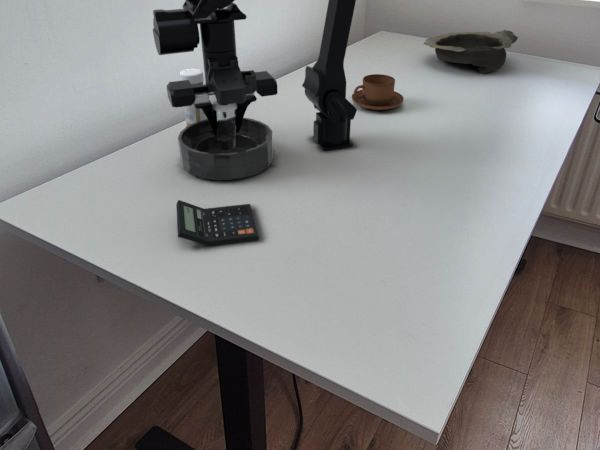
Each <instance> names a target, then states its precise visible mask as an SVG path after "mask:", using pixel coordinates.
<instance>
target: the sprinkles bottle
mask: <svg viewBox="0 0 600 450" xmlns="http://www.w3.org/2000/svg"><path fill="white" fill-rule="evenodd" d="M203 71H204V70H202V69H200V68H186V69H182V70H181V71H180V72H179V81H183V80H189V82H190V83H191V85H192V86H196V85H204V81H205V76H204V72H203ZM183 109H184V119H185V122H186V127H187V126H189V125H191V124H193V123H195V122H198V121H202V120H206V119H207V118H206V116H205V113H204V112H203V110H202V109H197V108H195V107H194V105H193V104H192V105H191V106H184V107H183Z"/></svg>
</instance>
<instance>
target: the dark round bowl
mask: <svg viewBox="0 0 600 450" xmlns="http://www.w3.org/2000/svg"><path fill="white" fill-rule="evenodd" d="M273 138H274V137H273V130H272V129H271V127H270V126H269V125H268V124H266V123H264V122H262V121H261V120H258V119H254V118H249V117H243V121H242V124H241V127H240V131H239V133H237V132H236V144H235V148H234V149H233V150H230V151H222V150H220V149H218V144H217V137H216V136H215V135H214V133H213V131H212V129H211V127H210V124H209V122H208V120H207V119H206V120H202V121H198V122H195V123H193V124H191V125H189V126H187V125H186V126H185V127H184V128H183V129H182V130H180V132H179V134H178V137H177V142H178V150H179V158H180V163H181V165H182V168H183V169H184V170H185V171H186V172H187V173H188V174H190V175H192V176H195V177H197V178H201V179H207V180H213V181H215V180H216V181H230V180H238V179H242V178H243V179H244V178H248V177H251V176H254V175H257V174H259V173H261V172H262V171H264V170H266V169H268V168H269V167H270V166H271V164H272V163H273V161H274V143H273V142H274V141H273V140H274V139H273Z"/></svg>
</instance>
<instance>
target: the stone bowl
mask: <svg viewBox="0 0 600 450" xmlns="http://www.w3.org/2000/svg"><path fill="white" fill-rule="evenodd" d="M518 38H519V36H516V35H515V33H514V32H513V31H511V30H506V29H504V30H500V31H495V32H491V31H457V32H449V33H442V34H439V35H435V36H432V37H429V38H427V39H425V41H424V42H423V43H422V44H423V45H425V46H428V47H429V48H433V49H434V52H435V55H436V57H437V59H438V60H439V61H441V62H447V63H452V64H464V65H469V64H471V65H472V66H474V67H477V70H478V73H482V74H489V73H492V72H494V71H497V70H500V69H501V68H502V67H503V66H504V65H505V63H506V60H507V59H506V58H507V51H506V49H510V48H511V46H512V44H515V43H516V42H517V41H518Z"/></svg>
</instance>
